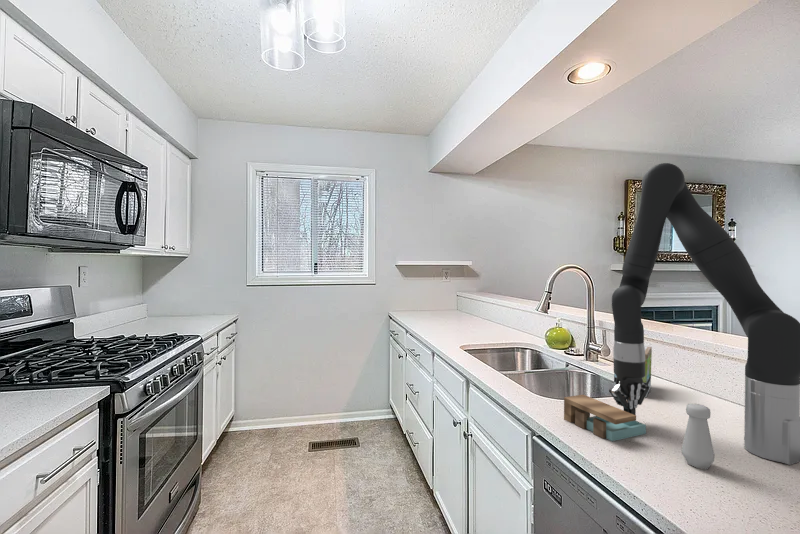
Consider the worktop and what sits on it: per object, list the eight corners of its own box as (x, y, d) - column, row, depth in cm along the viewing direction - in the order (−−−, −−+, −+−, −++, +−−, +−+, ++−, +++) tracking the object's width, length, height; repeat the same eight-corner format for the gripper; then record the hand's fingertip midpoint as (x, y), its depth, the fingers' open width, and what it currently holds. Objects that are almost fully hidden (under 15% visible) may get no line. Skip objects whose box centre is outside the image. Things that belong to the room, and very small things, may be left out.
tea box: (647, 398, 126) (648, 353, 125) (612, 392, 132) (613, 349, 132) (651, 387, 138) (652, 345, 137) (619, 381, 144) (619, 342, 144)
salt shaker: (682, 455, 89) (682, 398, 88) (714, 463, 85) (715, 404, 85) (680, 465, 84) (681, 406, 84) (714, 474, 80) (714, 412, 80)
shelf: (636, 440, 96) (636, 415, 96) (615, 445, 93) (615, 419, 93) (582, 415, 111) (582, 394, 111) (564, 419, 109) (564, 397, 109)
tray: (645, 434, 100) (645, 424, 100) (611, 441, 96) (611, 432, 96) (615, 420, 108) (615, 412, 108) (582, 427, 104) (582, 418, 104)
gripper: (623, 363, 100) (624, 430, 100) (659, 358, 105) (659, 422, 105) (599, 357, 107) (600, 419, 107) (633, 352, 112) (634, 412, 112)
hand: (629, 420), depth 106 cm, fingers closed
